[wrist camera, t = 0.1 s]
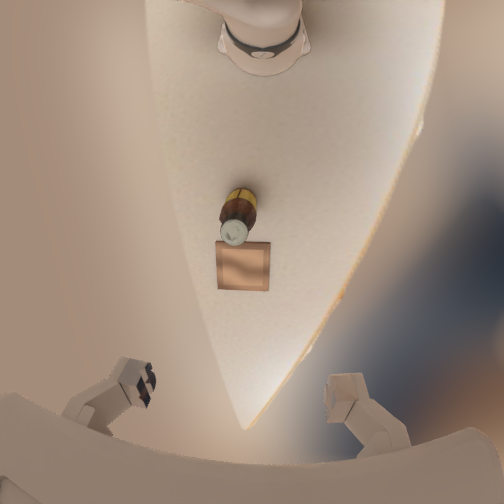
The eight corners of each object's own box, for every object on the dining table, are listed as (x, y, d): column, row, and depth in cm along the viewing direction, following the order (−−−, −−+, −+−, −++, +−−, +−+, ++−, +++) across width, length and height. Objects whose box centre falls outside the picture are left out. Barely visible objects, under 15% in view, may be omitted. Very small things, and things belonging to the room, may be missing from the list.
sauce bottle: (227, 215, 58) (208, 252, 40) (227, 186, 55) (206, 211, 37) (258, 216, 58) (253, 254, 39) (258, 187, 55) (254, 212, 37)
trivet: (216, 240, 60) (215, 242, 60) (270, 242, 60) (270, 244, 59) (218, 287, 65) (217, 289, 64) (268, 289, 65) (268, 291, 64)
